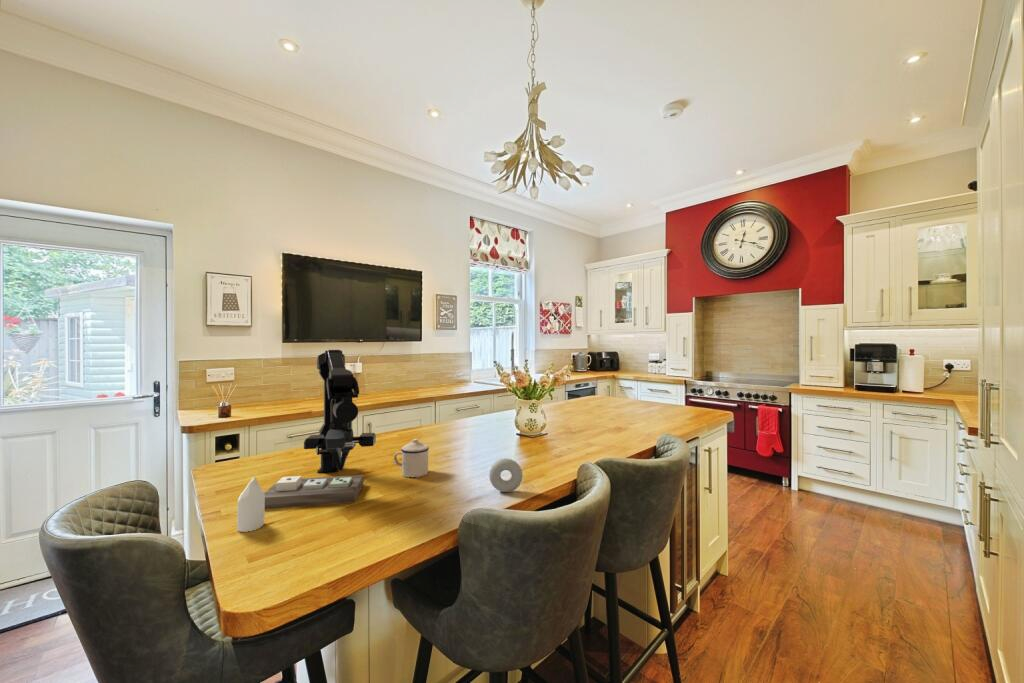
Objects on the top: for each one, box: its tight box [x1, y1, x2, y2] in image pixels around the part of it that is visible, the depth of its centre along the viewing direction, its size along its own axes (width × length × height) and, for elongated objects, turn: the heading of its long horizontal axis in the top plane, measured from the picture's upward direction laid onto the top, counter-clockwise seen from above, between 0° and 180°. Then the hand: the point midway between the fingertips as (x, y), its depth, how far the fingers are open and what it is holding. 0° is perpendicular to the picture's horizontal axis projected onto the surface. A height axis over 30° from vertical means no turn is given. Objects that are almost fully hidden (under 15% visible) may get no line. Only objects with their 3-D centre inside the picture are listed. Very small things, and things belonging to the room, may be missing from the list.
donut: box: [489, 458, 524, 493], centre depth 118 cm, size 10×4×10 cm, turn 89°
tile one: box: [275, 475, 302, 491], centre depth 113 cm, size 5×5×3 cm
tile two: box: [303, 479, 327, 490], centre depth 114 cm, size 5×5×3 cm
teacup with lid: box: [393, 438, 430, 479], centre depth 134 cm, size 12×9×12 cm
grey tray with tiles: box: [264, 474, 364, 510], centre depth 114 cm, size 14×24×3 cm, turn 101°
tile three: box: [330, 477, 352, 488], centre depth 116 cm, size 5×5×3 cm
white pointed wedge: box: [236, 476, 266, 533], centre depth 95 cm, size 6×12×6 cm
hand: (341, 470), depth 115 cm, fingers closed
